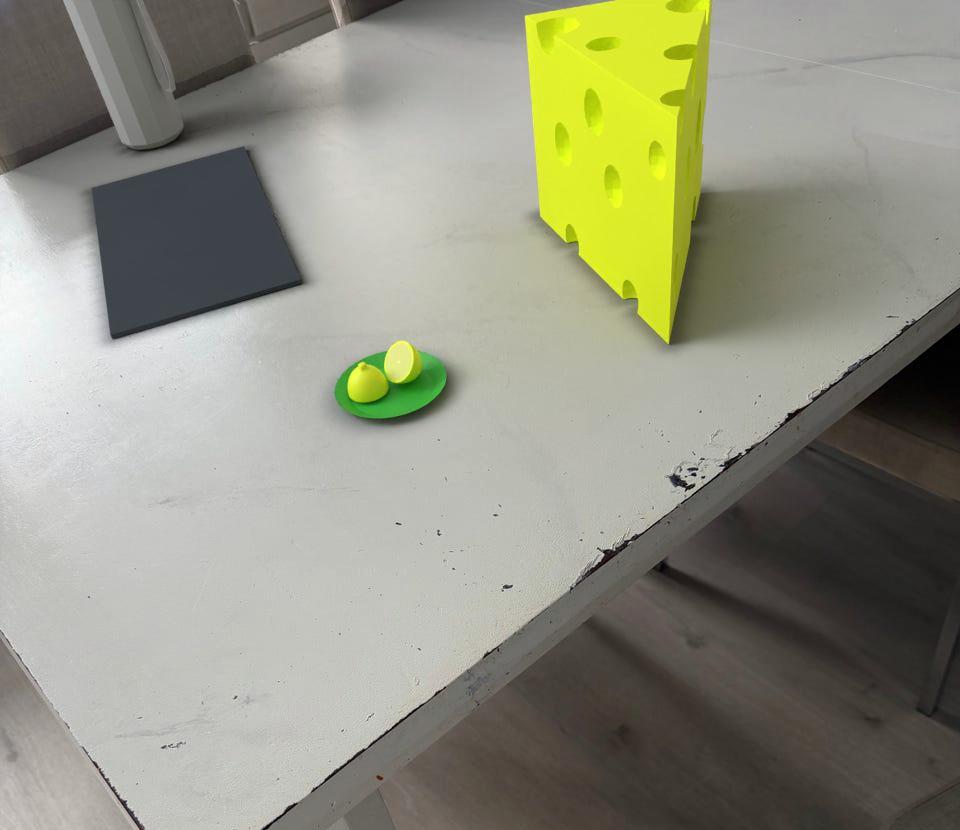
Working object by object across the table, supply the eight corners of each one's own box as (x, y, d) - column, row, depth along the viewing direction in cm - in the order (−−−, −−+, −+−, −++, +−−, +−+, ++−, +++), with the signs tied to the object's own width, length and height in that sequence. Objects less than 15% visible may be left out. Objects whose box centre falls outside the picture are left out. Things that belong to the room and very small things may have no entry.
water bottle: (106, 152, 98) (-21, -146, 79) (150, 120, 102) (40, -170, 83) (172, 158, 95) (56, -152, 76) (215, 125, 99) (116, -176, 80)
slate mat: (93, 191, 92) (91, 187, 92) (245, 149, 94) (243, 145, 94) (112, 339, 73) (110, 334, 73) (302, 283, 75) (300, 279, 75)
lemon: (401, 344, 68) (393, 309, 65) (471, 384, 63) (465, 349, 61) (314, 395, 65) (303, 361, 63) (381, 441, 60) (372, 406, 58)
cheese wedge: (805, 215, 72) (838, -5, 60) (668, 344, 63) (677, 117, 52) (601, 170, 81) (597, -28, 70) (459, 278, 72) (427, 73, 61)
